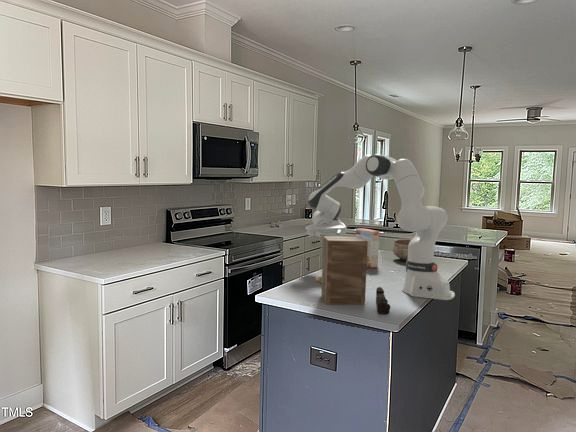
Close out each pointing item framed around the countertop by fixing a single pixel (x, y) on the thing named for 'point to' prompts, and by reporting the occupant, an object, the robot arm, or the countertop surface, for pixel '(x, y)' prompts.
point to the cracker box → (370, 245)
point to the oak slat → (319, 279)
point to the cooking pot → (401, 248)
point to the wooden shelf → (344, 269)
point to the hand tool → (381, 302)
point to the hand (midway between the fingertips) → (329, 234)
